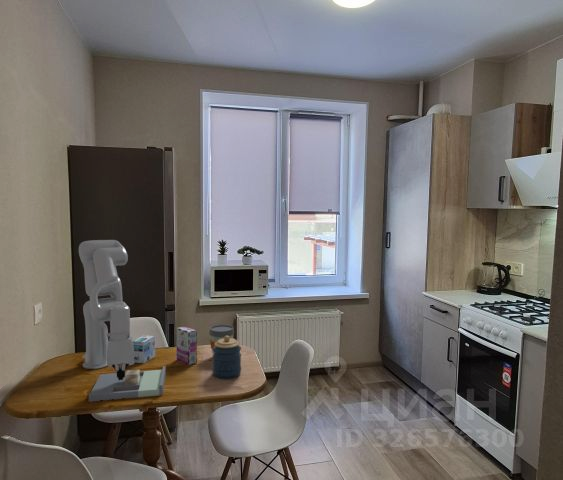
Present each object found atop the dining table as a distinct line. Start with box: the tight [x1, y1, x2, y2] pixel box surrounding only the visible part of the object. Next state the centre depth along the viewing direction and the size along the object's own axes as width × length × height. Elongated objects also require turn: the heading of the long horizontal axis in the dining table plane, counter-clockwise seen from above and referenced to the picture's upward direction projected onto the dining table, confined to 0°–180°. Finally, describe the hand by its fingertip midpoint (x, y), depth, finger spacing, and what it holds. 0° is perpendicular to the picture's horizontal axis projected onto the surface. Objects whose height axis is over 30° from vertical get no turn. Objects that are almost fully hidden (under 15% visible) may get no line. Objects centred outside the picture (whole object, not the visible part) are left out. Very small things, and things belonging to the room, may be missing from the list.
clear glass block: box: [125, 369, 141, 385], centre depth 161 cm, size 5×5×4 cm
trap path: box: [88, 365, 167, 402], centre depth 162 cm, size 27×20×4 cm
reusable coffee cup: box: [209, 324, 235, 355], centre depth 197 cm, size 13×13×15 cm
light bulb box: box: [132, 334, 156, 364], centre depth 193 cm, size 11×7×11 cm, turn 168°
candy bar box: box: [176, 326, 198, 366], centre depth 191 cm, size 11×5×16 cm, turn 47°
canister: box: [211, 336, 242, 380], centre depth 176 cm, size 13×13×18 cm
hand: (121, 378), depth 161 cm, fingers closed
